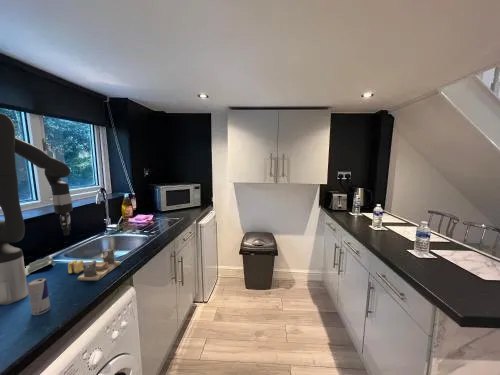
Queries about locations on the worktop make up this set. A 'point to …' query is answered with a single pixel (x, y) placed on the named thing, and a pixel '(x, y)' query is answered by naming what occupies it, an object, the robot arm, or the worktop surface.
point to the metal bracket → (39, 264)
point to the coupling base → (100, 273)
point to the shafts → (102, 256)
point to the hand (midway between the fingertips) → (67, 232)
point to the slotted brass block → (75, 266)
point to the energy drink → (38, 296)
